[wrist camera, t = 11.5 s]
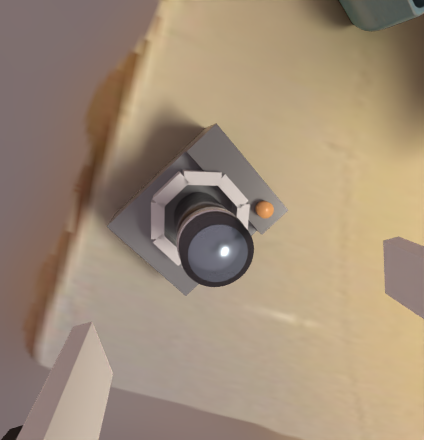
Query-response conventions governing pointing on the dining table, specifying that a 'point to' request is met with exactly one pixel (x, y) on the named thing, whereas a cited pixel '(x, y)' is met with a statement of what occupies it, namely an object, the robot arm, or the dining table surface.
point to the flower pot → (381, 12)
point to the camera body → (186, 184)
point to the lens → (211, 241)
